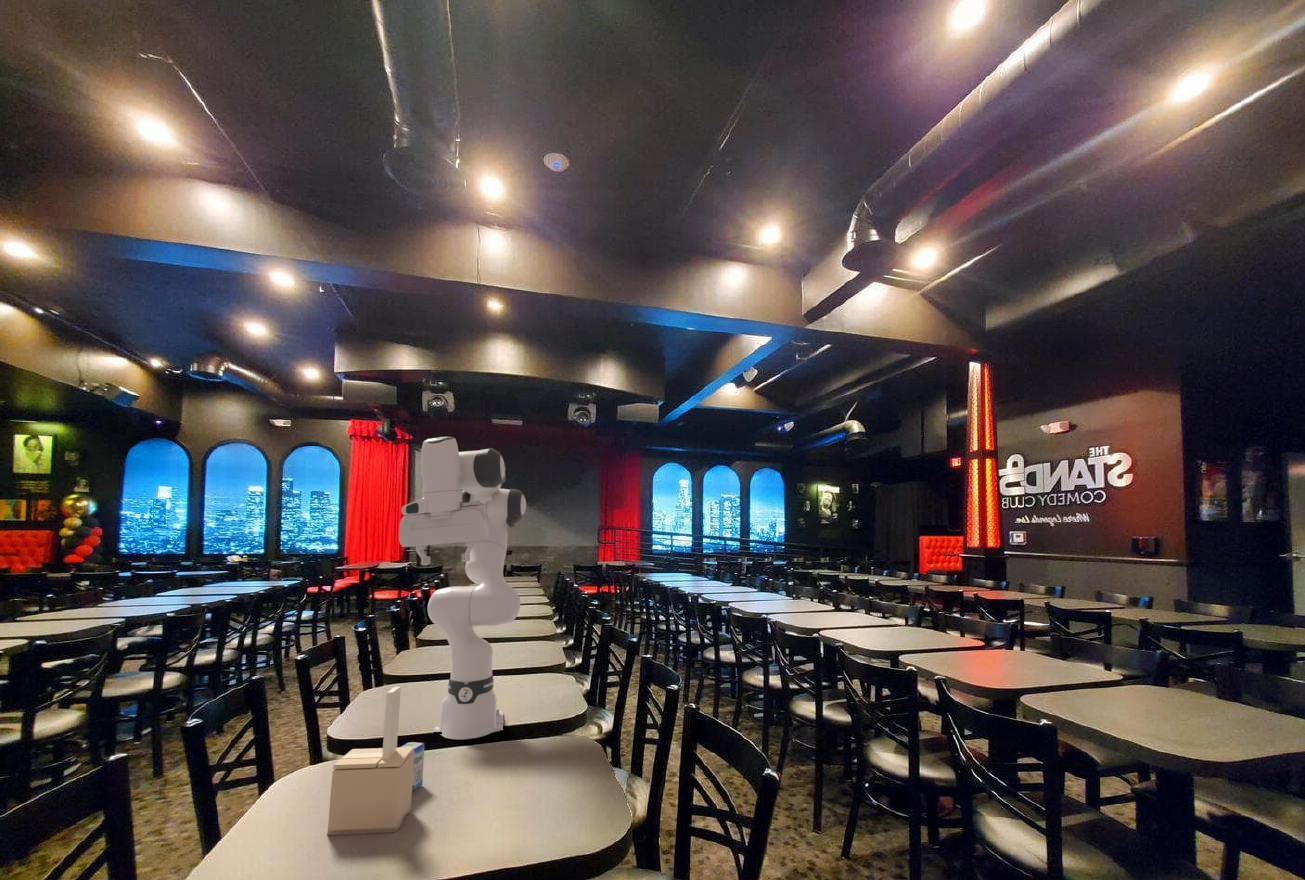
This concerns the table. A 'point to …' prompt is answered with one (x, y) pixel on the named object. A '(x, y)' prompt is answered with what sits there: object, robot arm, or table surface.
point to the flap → (393, 733)
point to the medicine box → (417, 763)
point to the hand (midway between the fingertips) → (446, 562)
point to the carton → (369, 794)
